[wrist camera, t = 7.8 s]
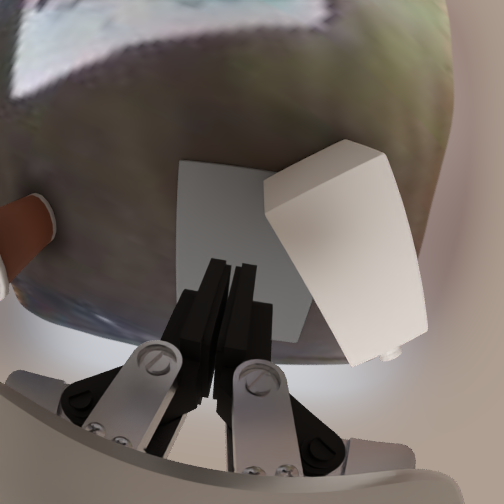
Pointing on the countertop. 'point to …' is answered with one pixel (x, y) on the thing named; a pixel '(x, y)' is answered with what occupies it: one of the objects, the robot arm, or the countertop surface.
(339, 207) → the milk carton
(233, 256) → the mat
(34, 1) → the countertop surface
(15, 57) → the countertop surface
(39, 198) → the coffee cup
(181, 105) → the countertop surface
